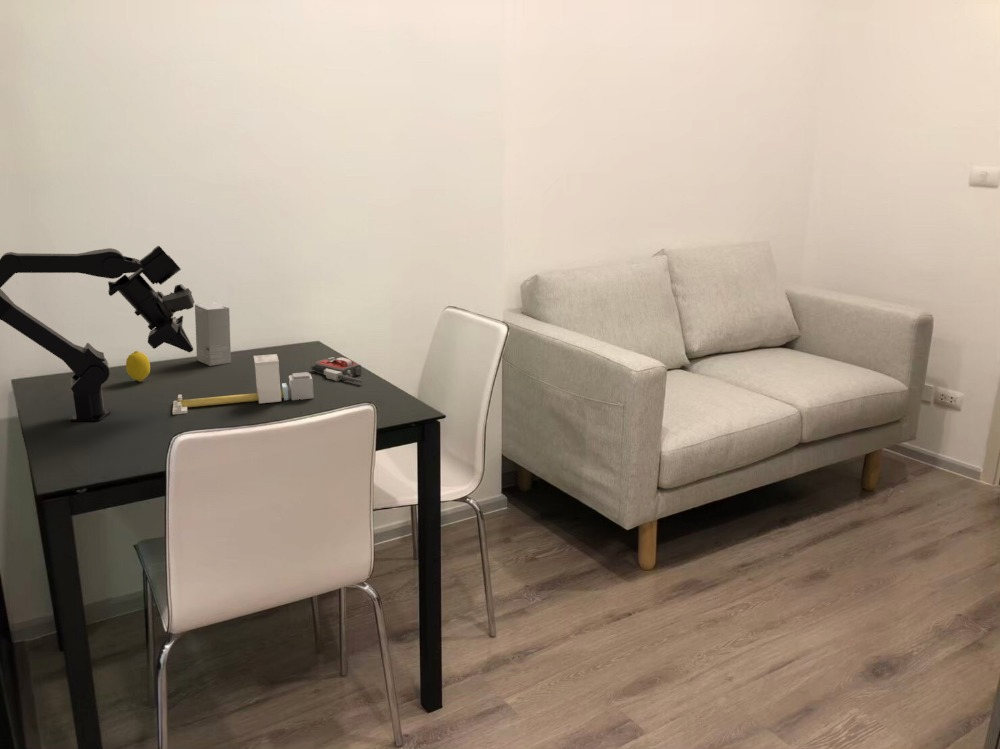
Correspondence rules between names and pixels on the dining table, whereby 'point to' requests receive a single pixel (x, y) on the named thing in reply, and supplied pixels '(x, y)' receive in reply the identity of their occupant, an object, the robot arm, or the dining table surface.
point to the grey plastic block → (298, 387)
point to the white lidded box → (267, 378)
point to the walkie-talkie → (338, 369)
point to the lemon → (138, 366)
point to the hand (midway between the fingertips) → (191, 350)
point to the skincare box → (212, 333)
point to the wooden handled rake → (212, 401)
